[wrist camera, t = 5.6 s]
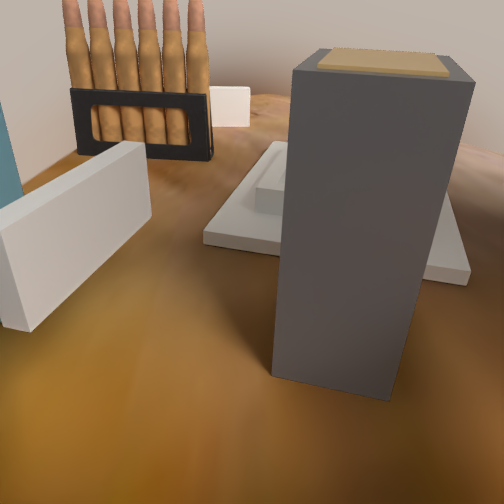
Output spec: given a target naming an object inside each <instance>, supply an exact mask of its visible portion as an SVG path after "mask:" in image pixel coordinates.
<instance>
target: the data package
mask: <svg viewBox="0 0 504 504" xmlns="http://www.w3.org/2000/svg"><path fill="white" fill-rule="evenodd" d="M23 196H24V193H23V189H22V186H21V182H20V178H19V174H18V170H17V166H16V162H15V158H14V154H13V150H12V146H11V142H10V139H9V135H8V131H7V127H6V123H5V119H4V115H3V111H2V107H1V103H0V209H1V208H3V207H5V206H7V205H9V204H10V203H12V202H14V201H16V200H18V199H19V198H21V197H23ZM0 322H1V319H0Z"/></svg>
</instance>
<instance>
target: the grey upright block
mask: <svg viewBox="0 0 504 504" xmlns="http://www.w3.org/2000/svg"><path fill="white" fill-rule="evenodd" d="M475 84H476V82H475V81H474V80H473V79H472V78H471V77H470V76H469V75H468V74H467V73H466V72H465V71H464V70H463V69H462V68H461V67H460V66H458V65H457V63H456V62H455V61H454V60H453V59H451V58H450V57H449V56H439V55H435V54H434V53H420V52H403V51H385V50H368V49H351V48H333V49H319V50H318V51H316V52H315V53H314V54H313V55H311V56H310V57H309V58H307V59H306V60H305V61H303V62H302V63H301V64H300V65H298V66H297V67H296V68H295V69H293V75H292V89H291V103H290V117H289V132H288V146H287V160H286V175H285V189H284V203H283V217H282V232H281V246H280V260H279V275H278V289H277V303H276V317H275V332H274V346H273V360H272V375H271V376H274V377H279V378H283V379H288V380H292V381H297V382H302V383H306V384H311V385H315V386H320V387H324V388H329V389H334V390H338V391H343V392H347V393H352V394H356V395H361V396H366V397H370V398H375V399H379V400H384V401H388V402H389V401H390V397H391V393H392V390H393V386H394V382H395V379H396V375H397V371H398V368H399V364H400V360H401V357H402V353H403V349H404V346H405V342H406V338H407V334H408V331H409V327H410V323H411V320H412V316H413V312H414V309H415V305H416V301H417V298H418V294H419V290H420V287H421V283H422V279H423V275H424V272H425V268H426V264H427V261H428V257H429V253H430V250H431V246H432V242H433V239H434V235H435V231H436V228H437V224H438V220H439V216H440V213H441V209H442V205H443V202H444V198H445V194H446V191H447V187H448V183H449V180H450V176H451V172H452V169H453V165H454V161H455V157H456V154H457V150H458V146H459V143H460V139H461V135H462V132H463V128H464V124H465V121H466V117H467V113H468V110H469V106H470V102H471V98H472V95H473V91H474V87H475Z"/></svg>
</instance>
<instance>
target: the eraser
mask: <svg viewBox="0 0 504 504" xmlns="http://www.w3.org/2000/svg"><path fill="white" fill-rule="evenodd" d="M209 90H210V103H211V118H212V127H249V119H250V88H249V87H220V86H219V87H216V86H209Z"/></svg>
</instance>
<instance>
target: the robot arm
mask: <svg viewBox="0 0 504 504" xmlns="http://www.w3.org/2000/svg"><path fill="white" fill-rule="evenodd" d="M151 217H152V211H151V201H150V191H149V181H148V171H147V160H146V150H145V143H142V142H133V141H122V142H120V143H119V144H117V145H115V146H113V147H111V148H110V149H108V150H106V151H104V152H102V153H101V154H99V155H97V156H95V157H93V158H92V159H90V160H88V161H86V162H84V163H83V164H81V165H79V166H77V167H75V168H74V169H72V170H70V171H68V172H66V173H64V174H63V175H61V176H59V177H57V178H55V179H54V180H52V181H50V182H48V183H46V184H45V185H43V186H41V187H39V188H37V189H36V190H34V191H32V192H30V193H28V194H27V195H25V196H23V197H21V198H19V199H18V200H16V201H14V202H12V203H10V204H9V205H7V206H5V207H3V208H1V209H0V319H1V321H2V324H3V327H7V328H11V329H16V330H21V331H25V332H30V333H31V332H32V331H33V330H34V329H35V328H36V327H37V326H38V325H39V324H40V323H41V322H42V321H43V320H44V319H45V318H46V317H47V316H48V315H50V314H51V313H52V312H53V311H54V310H55V309H56V308H57V307H58V306H59V305H60V304H61V303H62V302H63V301H64V300H65V299H66V298H67V297H68V296H69V295H71V294H72V293H73V292H74V291H75V290H76V289H77V288H78V287H79V286H80V285H81V284H82V283H83V282H84V281H85V280H86V279H87V278H88V277H89V276H91V275H92V274H93V273H94V272H95V271H96V270H97V269H98V268H99V267H100V266H101V265H102V264H103V263H104V262H105V261H106V260H107V259H108V258H109V257H110V256H112V255H113V254H114V253H115V252H116V251H117V250H118V249H119V248H120V247H121V246H122V245H123V244H124V243H125V242H126V241H127V240H128V239H129V238H130V237H131V236H133V235H134V234H135V233H136V232H137V231H138V230H139V229H140V228H141V227H142V226H143V225H144V224H145V223H146V222H147V221H148V220H149V219H150V218H151Z"/></svg>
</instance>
